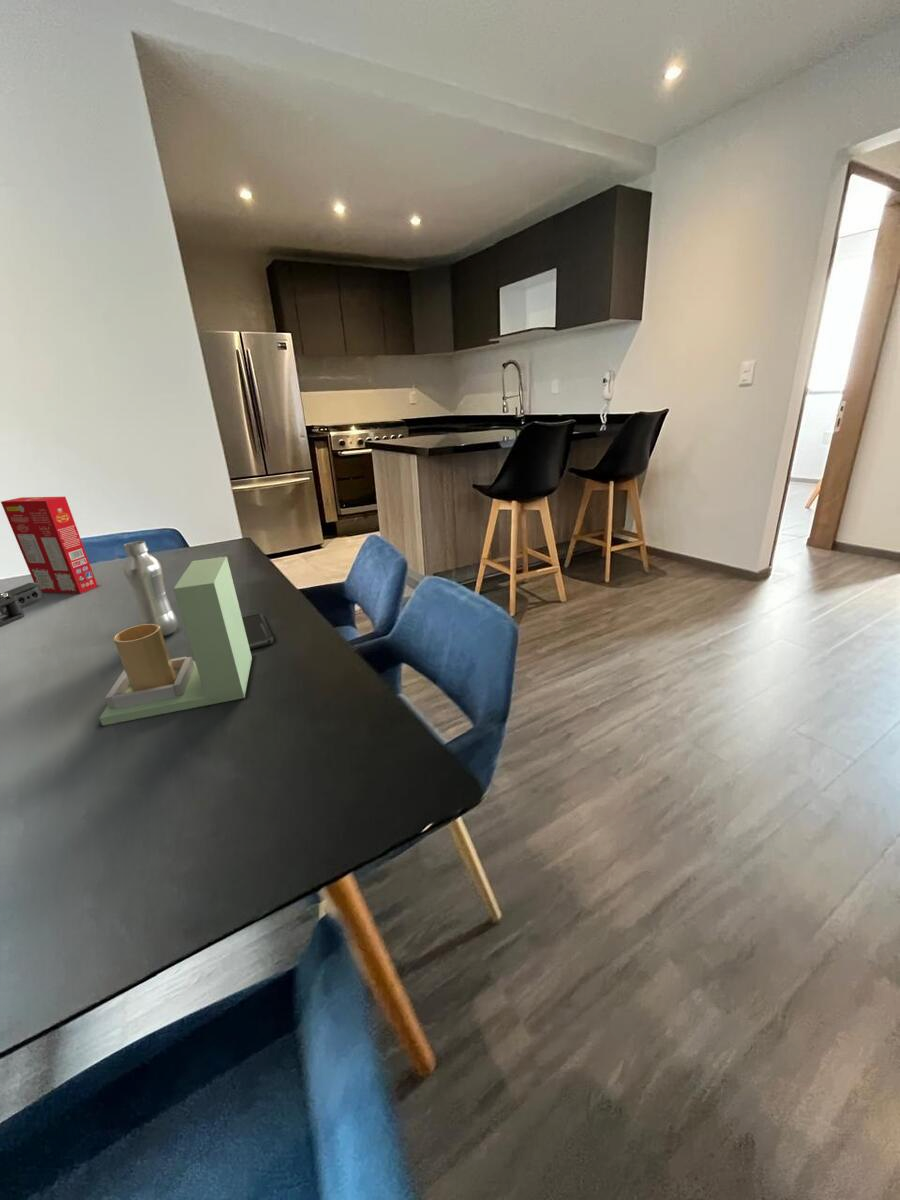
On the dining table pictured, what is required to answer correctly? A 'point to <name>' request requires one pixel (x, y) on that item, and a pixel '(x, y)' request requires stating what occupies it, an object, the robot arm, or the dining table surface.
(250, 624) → the phone
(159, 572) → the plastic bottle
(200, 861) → the dining table surface
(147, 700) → the coffee maker
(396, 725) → the dining table surface
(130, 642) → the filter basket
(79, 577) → the food packaging
